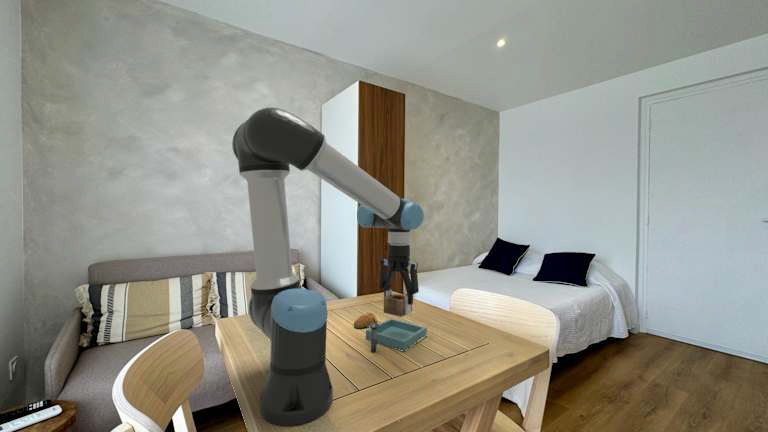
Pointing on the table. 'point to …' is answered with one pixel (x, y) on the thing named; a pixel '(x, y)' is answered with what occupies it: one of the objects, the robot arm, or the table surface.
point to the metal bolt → (374, 336)
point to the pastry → (365, 320)
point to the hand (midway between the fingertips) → (398, 311)
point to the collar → (395, 305)
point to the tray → (398, 333)
